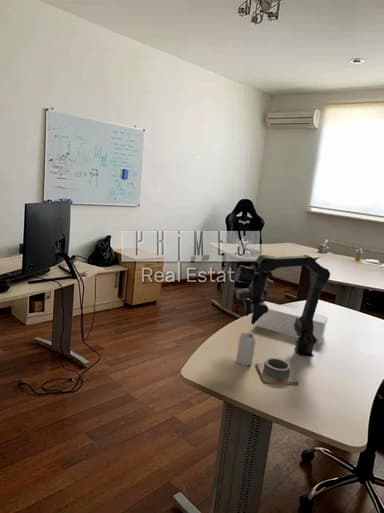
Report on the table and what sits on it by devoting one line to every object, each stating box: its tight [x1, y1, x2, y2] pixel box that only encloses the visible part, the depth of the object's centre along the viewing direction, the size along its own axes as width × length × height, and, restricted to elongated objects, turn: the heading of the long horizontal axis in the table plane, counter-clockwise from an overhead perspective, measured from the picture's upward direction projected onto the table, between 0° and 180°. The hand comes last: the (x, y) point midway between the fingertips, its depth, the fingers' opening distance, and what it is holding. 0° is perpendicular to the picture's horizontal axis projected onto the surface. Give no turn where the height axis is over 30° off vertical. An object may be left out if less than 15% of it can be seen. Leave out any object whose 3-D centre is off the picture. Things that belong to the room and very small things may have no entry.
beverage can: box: [235, 331, 256, 366], centre depth 153 cm, size 6×6×12 cm
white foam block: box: [255, 301, 328, 345], centre depth 192 cm, size 32×11×11 cm, turn 64°
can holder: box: [255, 357, 299, 386], centre depth 147 cm, size 13×13×4 cm
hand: (249, 319), depth 163 cm, fingers open, 9 cm apart
